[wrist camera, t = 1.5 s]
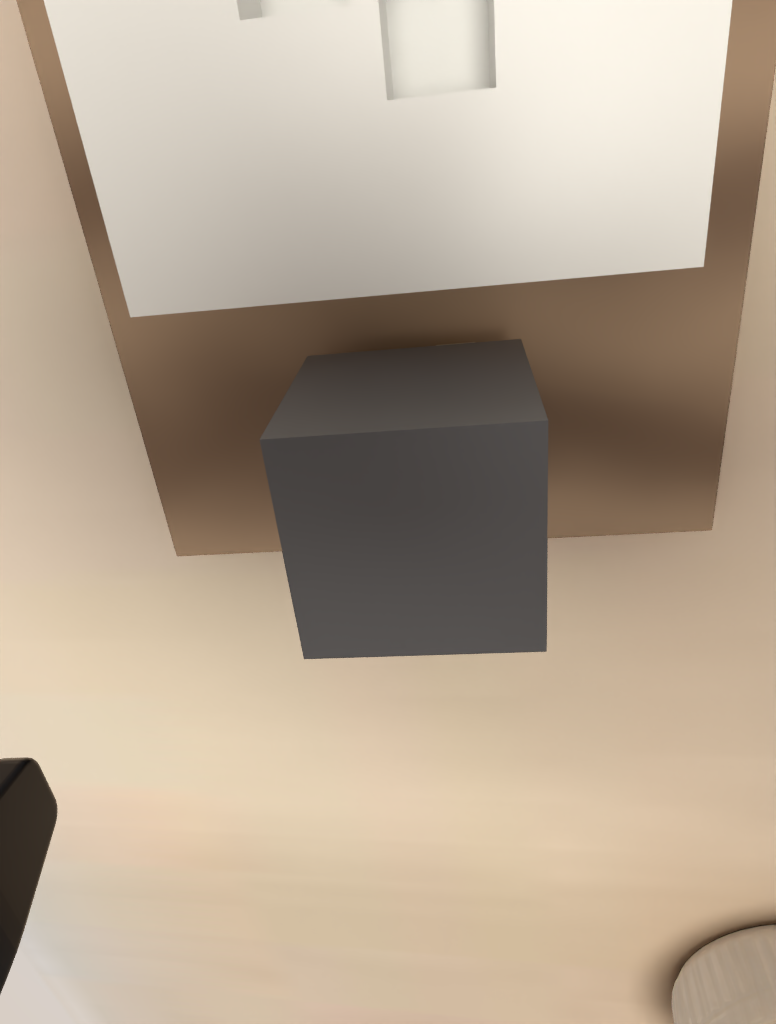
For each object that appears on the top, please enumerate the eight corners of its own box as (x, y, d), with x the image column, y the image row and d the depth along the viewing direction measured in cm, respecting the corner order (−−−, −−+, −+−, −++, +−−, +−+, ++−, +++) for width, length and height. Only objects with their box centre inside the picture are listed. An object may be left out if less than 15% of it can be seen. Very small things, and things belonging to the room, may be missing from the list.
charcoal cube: (517, 494, 20) (546, 651, 14) (344, 504, 21) (304, 658, 15) (514, 319, 18) (548, 420, 12) (319, 335, 18) (259, 439, 12)
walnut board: (701, 513, 21) (711, 530, 20) (187, 539, 23) (177, 556, 22) (835, -549, 12) (867, -602, 11) (-63, -363, 13) (-98, -396, 13)
